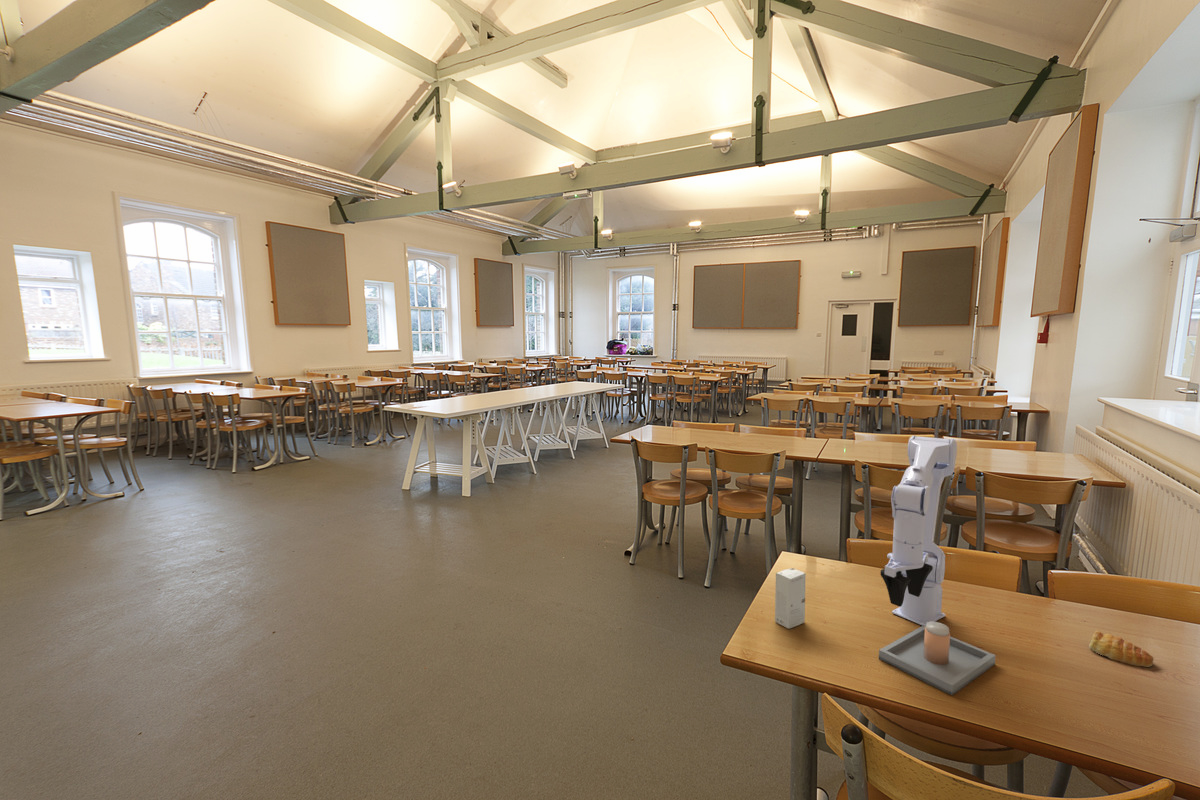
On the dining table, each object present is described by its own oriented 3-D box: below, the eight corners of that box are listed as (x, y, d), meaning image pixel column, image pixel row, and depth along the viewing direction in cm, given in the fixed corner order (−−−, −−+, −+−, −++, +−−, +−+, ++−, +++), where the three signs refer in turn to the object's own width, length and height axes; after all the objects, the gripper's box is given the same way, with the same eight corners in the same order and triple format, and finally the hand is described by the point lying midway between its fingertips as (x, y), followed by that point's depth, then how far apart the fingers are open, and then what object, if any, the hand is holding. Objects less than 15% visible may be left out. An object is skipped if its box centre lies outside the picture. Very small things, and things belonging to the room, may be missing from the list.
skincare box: (789, 629, 122) (790, 579, 121) (773, 621, 126) (774, 572, 125) (805, 622, 126) (807, 573, 124) (789, 614, 129) (791, 566, 128)
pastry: (1154, 661, 109) (1156, 644, 109) (1150, 674, 105) (1151, 656, 105) (1093, 641, 117) (1094, 625, 116) (1086, 653, 112) (1088, 636, 112)
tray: (923, 633, 120) (923, 625, 120) (994, 664, 108) (995, 655, 108) (878, 658, 110) (879, 649, 110) (951, 695, 99) (952, 685, 98)
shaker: (927, 649, 112) (929, 618, 112) (951, 658, 109) (953, 626, 108) (920, 658, 110) (921, 626, 109) (944, 667, 106) (946, 634, 106)
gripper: (906, 527, 122) (903, 584, 123) (871, 541, 114) (869, 601, 115) (939, 536, 116) (936, 596, 117) (905, 551, 108) (902, 615, 109)
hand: (905, 599), depth 116 cm, fingers open, 7 cm apart
